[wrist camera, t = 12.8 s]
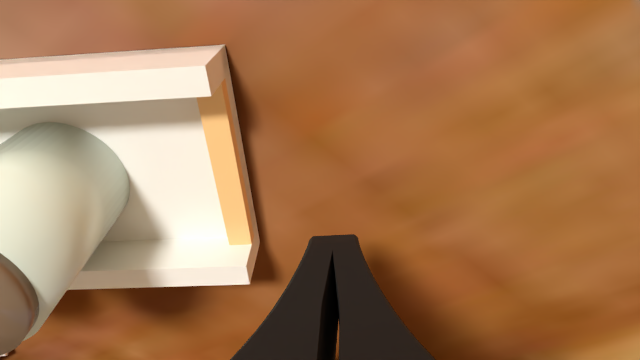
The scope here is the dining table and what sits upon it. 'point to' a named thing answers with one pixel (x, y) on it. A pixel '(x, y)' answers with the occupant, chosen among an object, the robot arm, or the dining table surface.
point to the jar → (51, 218)
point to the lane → (152, 159)
